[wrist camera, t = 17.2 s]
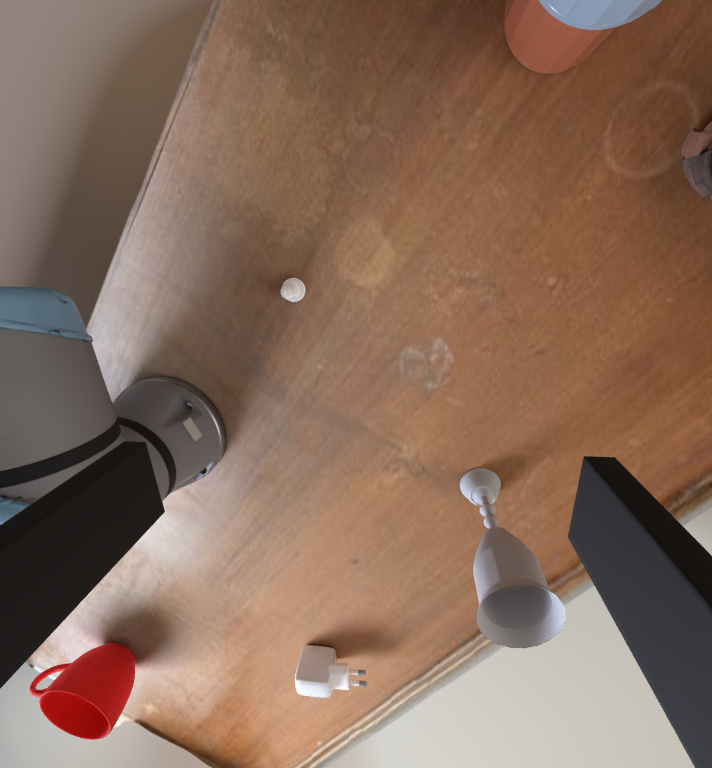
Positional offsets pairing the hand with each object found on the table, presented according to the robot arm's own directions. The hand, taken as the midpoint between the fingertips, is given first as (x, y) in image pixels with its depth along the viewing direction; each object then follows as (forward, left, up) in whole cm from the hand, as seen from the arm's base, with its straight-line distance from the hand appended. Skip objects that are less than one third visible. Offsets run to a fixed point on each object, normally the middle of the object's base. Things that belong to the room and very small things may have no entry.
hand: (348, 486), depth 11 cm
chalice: (+11, -22, -32) cm, 40 cm away
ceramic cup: (-55, -64, -32) cm, 90 cm away
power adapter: (-10, -57, -32) cm, 66 cm away
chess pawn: (-11, +3, -32) cm, 34 cm away
